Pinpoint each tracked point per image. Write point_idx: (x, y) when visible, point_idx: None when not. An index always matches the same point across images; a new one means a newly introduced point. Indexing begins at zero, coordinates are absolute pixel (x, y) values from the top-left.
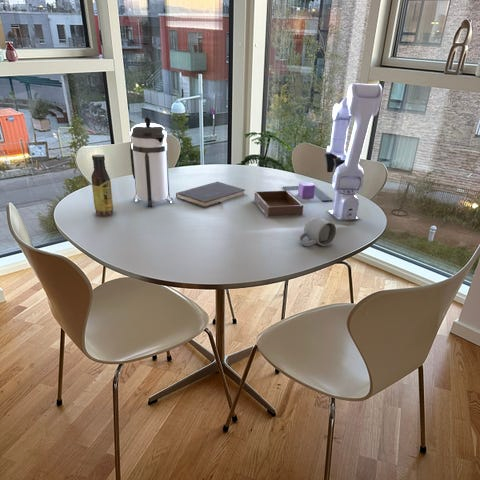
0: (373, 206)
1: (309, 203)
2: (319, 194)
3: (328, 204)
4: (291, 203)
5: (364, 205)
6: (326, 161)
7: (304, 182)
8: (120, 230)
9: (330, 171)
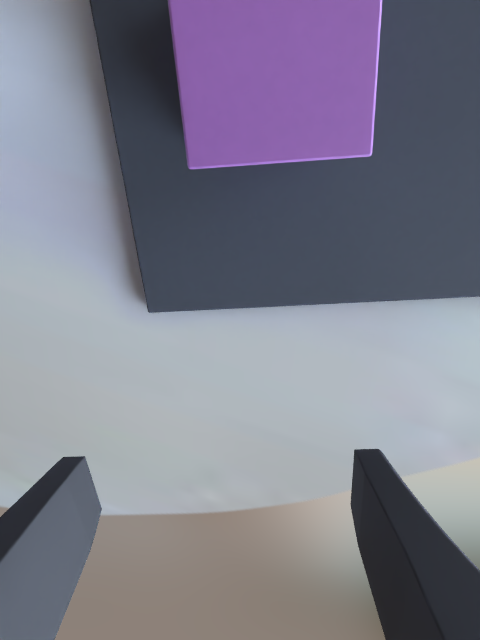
0: None
1: (66, 56)
2: (310, 253)
3: (59, 249)
4: None
5: None
6: (472, 601)
7: (360, 29)
8: None
9: (353, 490)
